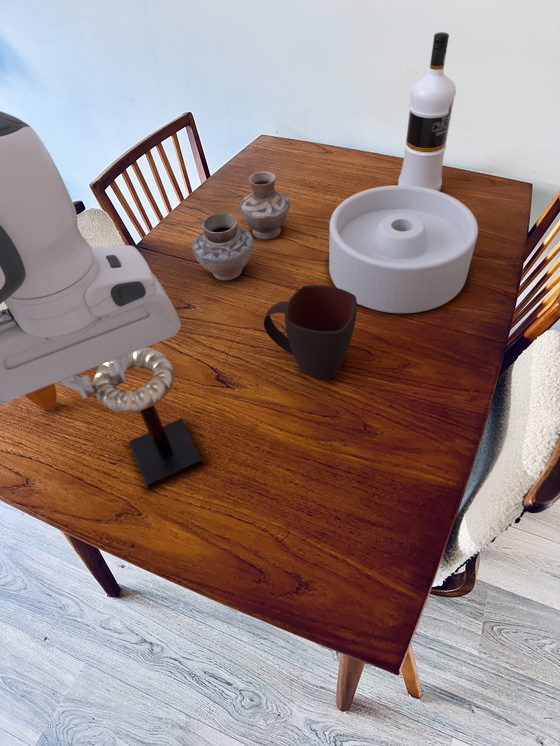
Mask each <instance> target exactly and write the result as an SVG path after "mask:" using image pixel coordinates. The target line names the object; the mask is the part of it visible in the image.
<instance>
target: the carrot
mask: <svg viewBox="0 0 560 746" xmlns="http://www.w3.org/2000/svg"><path fill="white" fill-rule="evenodd" d="M24 396H25V397H26V398H27V399H29V401H31V402H32V403H33V404H34V405H36V406H38V407H40V408H42V409H45V410H48V411H52V410H54V409H55V407H56V405H57V397H58V396H57V390H56V385H55V383H53V384H51V385H48V386H46V387H43V388H41V389H38V390H36V391H33V392H31V393H28V394H25V395H24Z"/></svg>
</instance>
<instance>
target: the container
mask: <svg viewBox="0 0 560 746" xmlns="http://www.w3.org/2000/svg"><path fill="white" fill-rule="evenodd" d="M478 234H479V225H478V222H477V219H476V216H475V215H474V213H473V212H472V210H470V208H468V206H466V205H465V204H464V203H462V201H460V200H458V199H457V198H455V197H453V196H451V195H449V194H447V193H445V192H442V191H436V190H433V189H428V188H424V187H418V186H407V185H398V184H397V185H393V184H392V185H382V186H377V187H372V188H369V189H366V190H362V191H359V192H357V193H355V194H353V195H351V196H349V197H348V198H346V199H344V200H343V201H342V202H341V203H340V204H339V205H338V206H336V208H335V209H334V210H333V212H332V214H331V217H330V220H329V243H328V245H329V249H328V252H329V254H328V261H329V262H328V270H329V275H330V278H331V281H332V282H333V284H334V286H335V288H339V289H342V290H345V291H347V292H349V293H351V294H353V295H355V296H356V300H357V305H360V306H362V307H365V308H368V309H371V310H374V311H378V312H383V313H388V314H389V313H390V314H415V313H421V312H426V311H429V310H433V309H436V308H438V307H441V306H443V305H445V304H447V303H448V302H450V301H451V300H453V299H454V298H455V297H456V296H457V295H458V294H459V293H460V292H461V291H462V290H463V288H464V286H465V284H466V281H467V277H468V273H469V269H470V267H471V262H472V258H473V254H474V251H475V247H476V243H477V239H478V236H479V235H478Z"/></svg>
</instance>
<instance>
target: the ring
mask: <svg viewBox="0 0 560 746" xmlns="http://www.w3.org/2000/svg"><path fill="white" fill-rule="evenodd" d="M127 355H128V357H129V361H128V364H127V367H126V370H125V372H126V371H127V372H128V371H129V370H131V369H135V368H146V369H149V370H150V371H152V378H151V380H149V381H148V382H147V383H146V384H145V385H144V386H141V387H139V388H136V389H133V390H127V389H126V390H125V389H124V390H123V389H121V388H118V387H117V385H116V386H115V384H114V381H113V380H112V377H111V375H110V372H109V370H108V368H107V367H109V366H111V365H114V362H115V359H114V360H112V361H109V362H107V363H104V364H102V365H99V366H97V367H98V368H97V370H96V372H95V375H94V377H93V380H92V384H93V386H94V390H95V392H96V394H95V397H96V400H97V401H98V403H99V404H101V405H103V406H104V407H106V408H107V409H110V410H112V411H113V412H117V413H138V412H139V411H141V410H144V409H146V408H149V407H151V406H154V405H155V406H156V405H158V404H159V403H160V402H161V401H162V400H163V399H164V398H165V397H166V396H167V395H168V394H169V393H170V392H171V390H172V388H173V385H174V380H175V377H176V370H175V368H174V366H173V363H172V361H171V359H170V358H169V356H168V355H167V354H165V353H163V352H161V351H159V350H157V349H155V348H153V347H149V346H147V347H145V348H142V349H140V350H137V351H135V352H132V353H130V354H127Z"/></svg>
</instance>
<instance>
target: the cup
mask: <svg viewBox="0 0 560 746" xmlns="http://www.w3.org/2000/svg"><path fill="white" fill-rule="evenodd" d="M357 313H358V303H357V300H356V296H355V295H353V294H351V293H349V292H347V291H345V290H342V289H339V288H337V287H336V286H335V287H334V286H330V285H322V284H321V285H320V284H309V285H302V286H301V287H300V288H298V289H297V290H296V291H295V292H294V293H293V294H292V296H291V297H290V298H289V300H288V301H279V302H278V303H275V304H273V305H271V307H269V309H267V311H266V313H265V316H264V319H263V327H264V331H265V332H266V334H267V335H268V337H269V338H270V339H271V340H272V341H273V342H274V343H275V344H276V345H277V346H278V347H280V348H281V349H282V350H283V351H285V352H287V353H288V354H290V355H291V356H293V357H294V360H295V362H296V364H297V366H298V368H299V369H300V370H301V372H303V373H304V374H306V375H308V376H310V377H313V378H316V379H324V380H325V379H326V380H327V379H332V378H333V377H334V376H336V375H337V373H338V372H339V370H340V368H341V366H342V365H343V362H344V360H345V358H346V355H347V353H348V350H349V347H350V344H351V342H352V338H353V335H354V334H353V333H354V332H355V331H354V330H355V327H356V326H355V325H356V322H357V321H356V320H357ZM273 314H284V325H285V326H284V327H285V331H286V335H285V334H284V332H282V331H281V330H280V329H278V327H277V326H276V325H275V323H274V322H273V320H272V317H271V315H273Z"/></svg>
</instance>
